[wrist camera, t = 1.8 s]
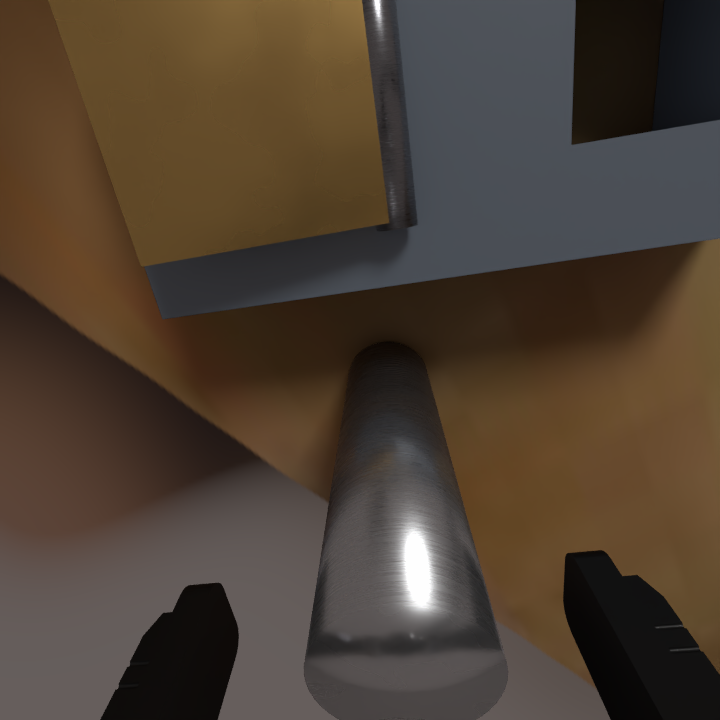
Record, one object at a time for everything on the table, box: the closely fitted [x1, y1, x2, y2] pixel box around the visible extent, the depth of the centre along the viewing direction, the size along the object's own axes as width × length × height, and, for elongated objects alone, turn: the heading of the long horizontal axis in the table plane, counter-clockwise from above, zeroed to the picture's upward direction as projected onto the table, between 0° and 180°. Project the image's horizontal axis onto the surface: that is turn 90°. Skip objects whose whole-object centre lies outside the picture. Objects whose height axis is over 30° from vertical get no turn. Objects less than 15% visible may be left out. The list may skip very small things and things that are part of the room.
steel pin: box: [304, 342, 508, 720], centre depth 15 cm, size 4×4×14 cm
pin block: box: [144, 0, 720, 319], centre depth 14 cm, size 22×12×6 cm, turn 99°
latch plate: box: [48, 0, 418, 267], centre depth 10 cm, size 8×8×1 cm
